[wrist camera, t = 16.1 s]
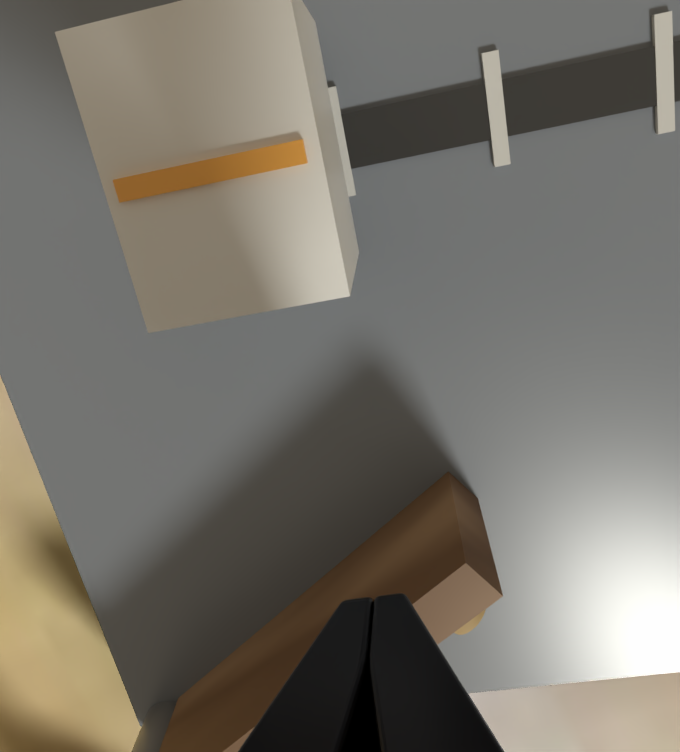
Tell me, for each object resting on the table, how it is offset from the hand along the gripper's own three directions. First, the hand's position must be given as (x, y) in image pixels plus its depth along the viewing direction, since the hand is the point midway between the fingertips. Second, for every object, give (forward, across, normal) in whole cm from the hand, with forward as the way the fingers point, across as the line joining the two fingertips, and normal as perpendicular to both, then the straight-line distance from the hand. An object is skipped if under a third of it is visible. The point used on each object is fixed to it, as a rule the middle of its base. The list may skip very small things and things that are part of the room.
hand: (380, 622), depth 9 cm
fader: (+6, +1, -6) cm, 9 cm away
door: (+6, +2, +5) cm, 9 cm away
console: (+8, -2, -1) cm, 8 cm away
